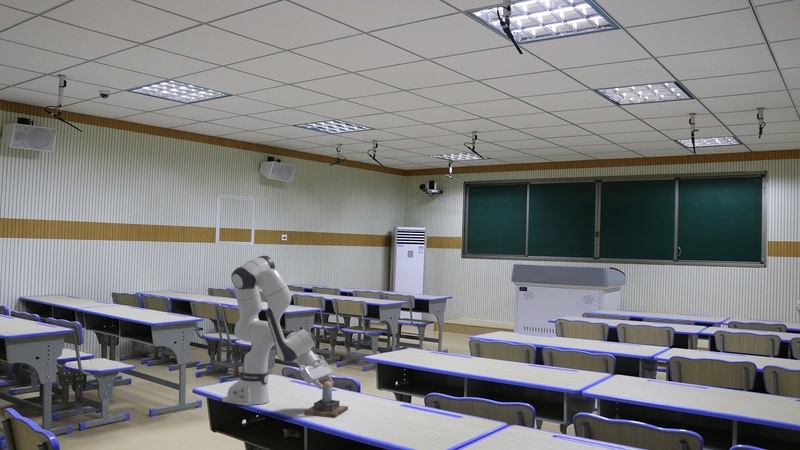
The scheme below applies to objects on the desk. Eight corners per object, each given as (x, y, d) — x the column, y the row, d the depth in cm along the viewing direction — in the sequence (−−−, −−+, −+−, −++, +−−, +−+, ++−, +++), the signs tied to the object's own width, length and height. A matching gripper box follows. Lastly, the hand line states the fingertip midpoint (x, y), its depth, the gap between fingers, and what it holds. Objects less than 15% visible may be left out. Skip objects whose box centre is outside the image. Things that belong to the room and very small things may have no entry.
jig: (304, 414, 277) (304, 403, 277) (318, 406, 292) (318, 396, 292) (335, 417, 273) (335, 407, 273) (347, 409, 287) (348, 399, 288)
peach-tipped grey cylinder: (320, 409, 281) (321, 382, 282) (324, 406, 285) (325, 380, 286) (329, 410, 280) (330, 382, 280) (333, 407, 284) (333, 381, 285)
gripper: (302, 362, 278) (320, 386, 274) (324, 355, 297) (341, 378, 293) (293, 371, 279) (311, 395, 275) (315, 364, 298) (333, 386, 294)
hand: (327, 386), depth 284 cm, fingers open, 8 cm apart
